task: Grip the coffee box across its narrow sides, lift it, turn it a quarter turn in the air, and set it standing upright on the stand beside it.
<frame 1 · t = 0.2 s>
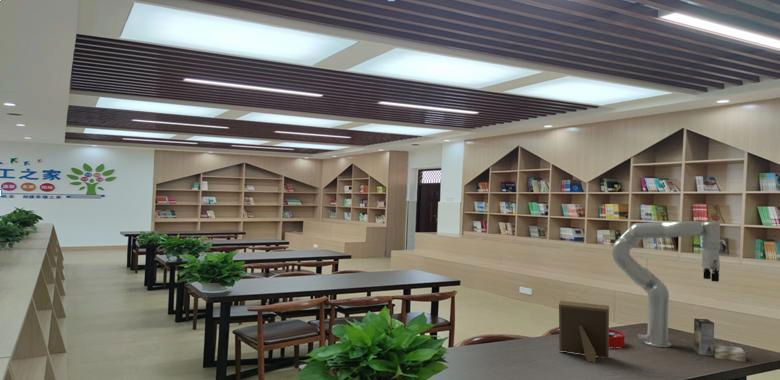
hand: (711, 280, 266), 36 cm above the table, tool pointing down, fingers open, 9 cm apart
stand: (728, 357, 254), on the table
photo frame: (582, 357, 246), on the table
toy clock: (603, 344, 274), on the table
coffee box: (703, 353, 260), on the table
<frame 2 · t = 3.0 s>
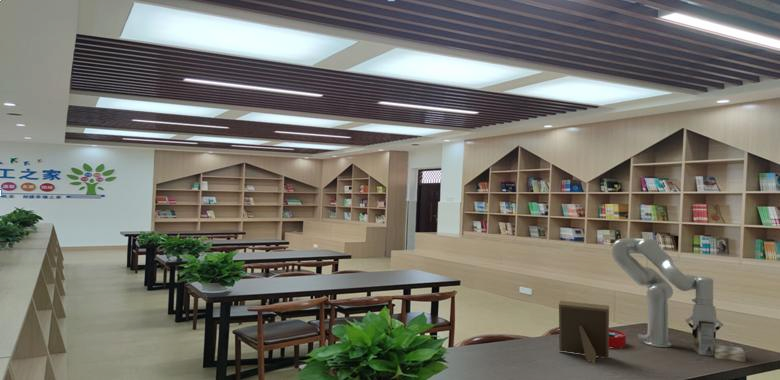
hand: (703, 338, 260), 7 cm above the table, tool pointing down, fingers closed on coffee box, 7 cm apart
coffee box: (703, 353, 260), on the table, touching gripper
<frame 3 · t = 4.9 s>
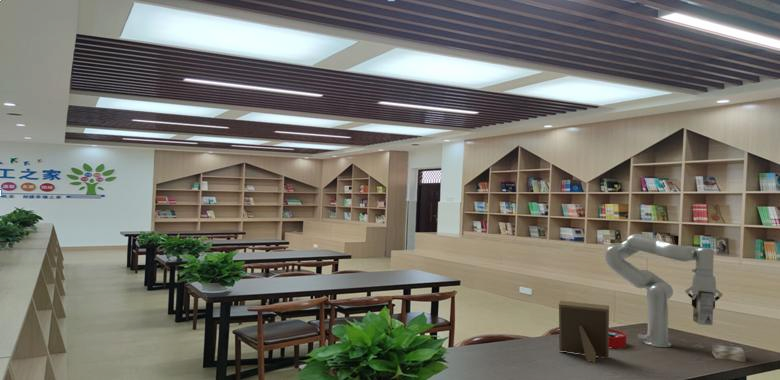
hand: (703, 308, 261), 22 cm above the table, tool pointing down, fingers closed on coffee box, 7 cm apart
coffee box: (702, 323, 261), point 14 cm above the table, touching gripper
everything else where it was.
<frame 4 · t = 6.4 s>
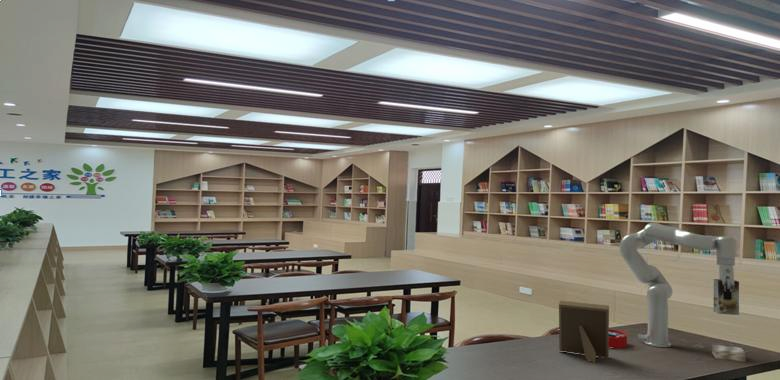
hand: (726, 298, 256), 28 cm above the table, tool pointing down, fingers closed on coffee box, 7 cm apart
coffee box: (726, 313, 255), point 21 cm above the table, touching gripper
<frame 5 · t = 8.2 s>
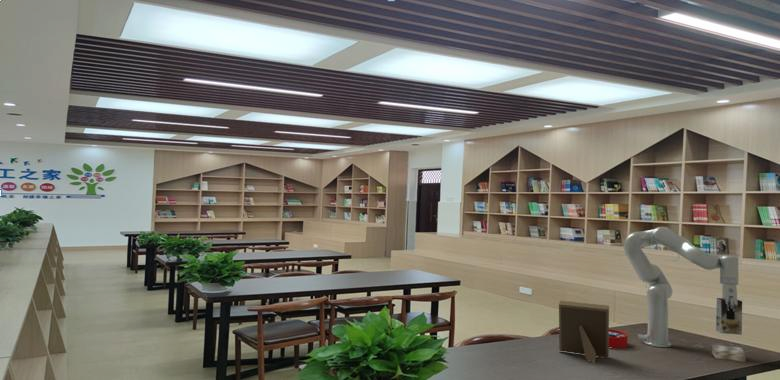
hand: (728, 317, 254), 19 cm above the table, tool pointing down, fingers closed on coffee box, 7 cm apart
coffee box: (728, 333, 254), point 11 cm above the table, touching gripper
when the fingers open (13 cm above the table, at t = 9.9 s): coffee box drops 1 cm, resting on stand.
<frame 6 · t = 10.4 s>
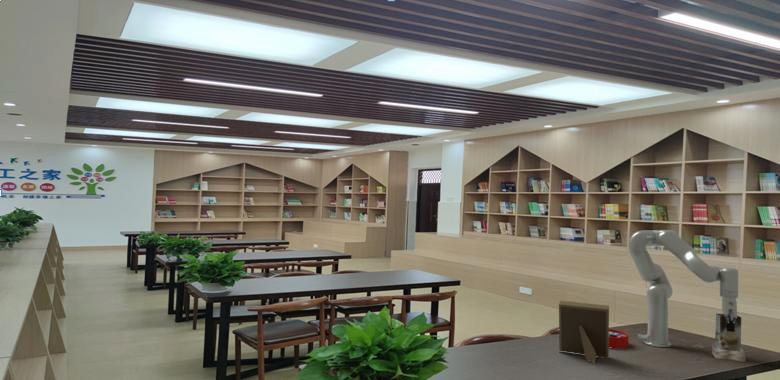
hand: (728, 329, 254), 13 cm above the table, tool pointing down, fingers open, 9 cm apart
coffee box: (727, 349, 254), point 4 cm above the table, touching stand
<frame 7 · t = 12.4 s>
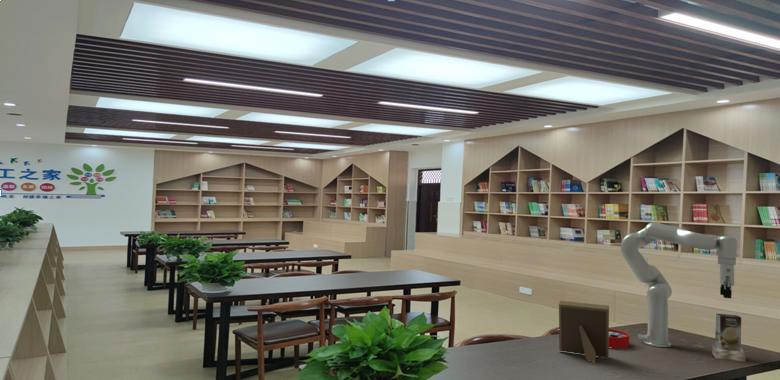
hand: (725, 296, 257), 29 cm above the table, tool pointing down, fingers open, 9 cm apart
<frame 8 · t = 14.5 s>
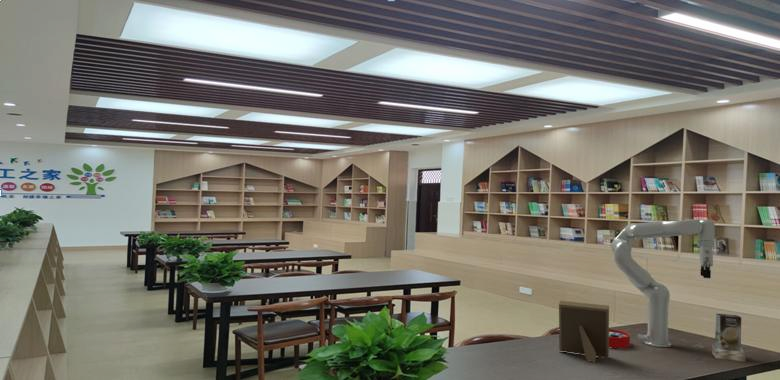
hand: (705, 277, 272), 36 cm above the table, tool pointing down, fingers open, 9 cm apart
at the end: coffee box inside the target area on the stand (0.2 cm from its centre), point 3.8 cm above the stand's base; coffee box tilted 0°; the gripper is holding nothing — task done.
